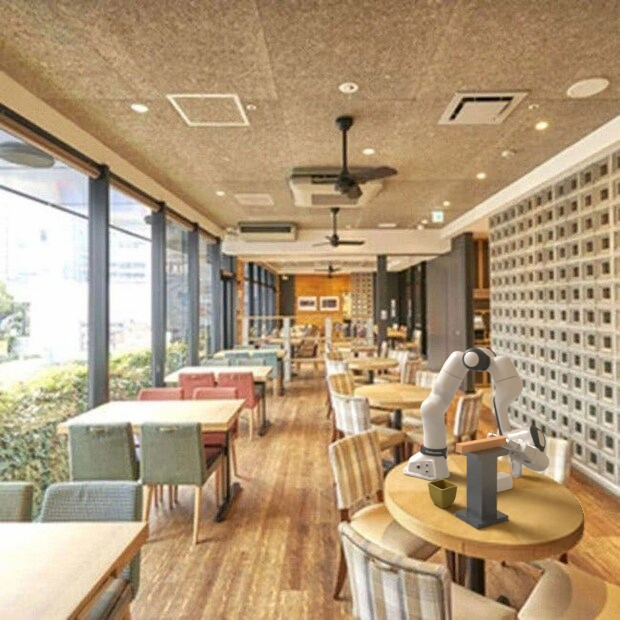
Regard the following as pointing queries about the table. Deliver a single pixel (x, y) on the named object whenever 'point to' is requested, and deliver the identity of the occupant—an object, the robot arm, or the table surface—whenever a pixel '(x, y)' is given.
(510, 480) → the milk
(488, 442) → the orange-brown square bar
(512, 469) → the cup with straw
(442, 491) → the flower pot
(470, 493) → the pedestal
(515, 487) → the table surface
